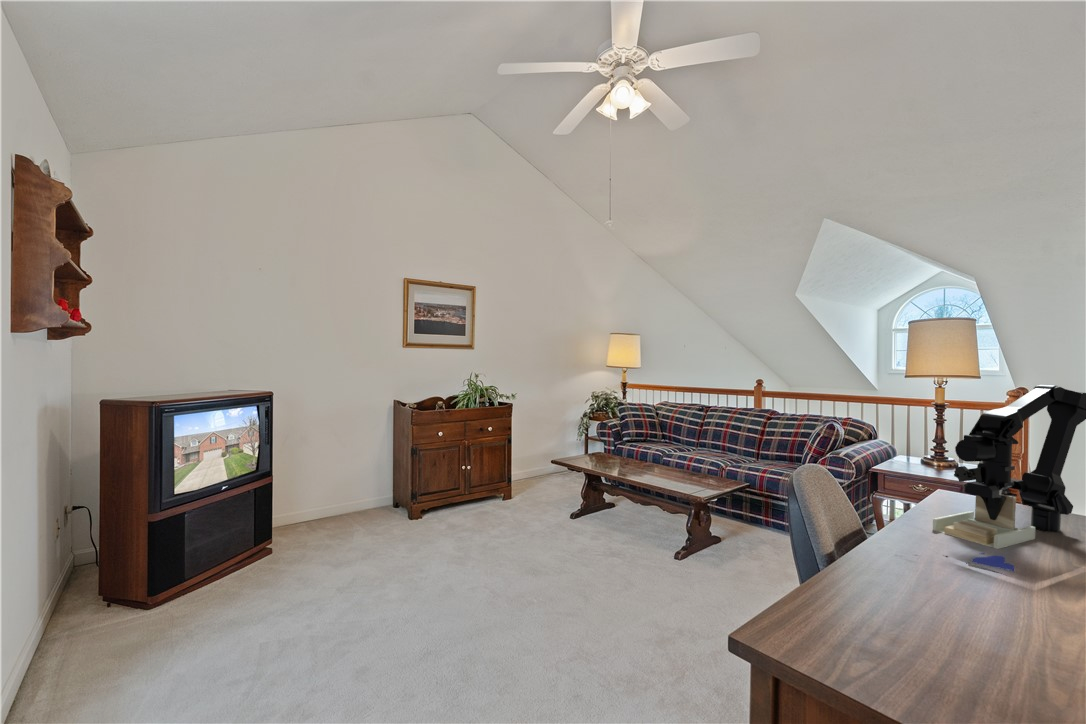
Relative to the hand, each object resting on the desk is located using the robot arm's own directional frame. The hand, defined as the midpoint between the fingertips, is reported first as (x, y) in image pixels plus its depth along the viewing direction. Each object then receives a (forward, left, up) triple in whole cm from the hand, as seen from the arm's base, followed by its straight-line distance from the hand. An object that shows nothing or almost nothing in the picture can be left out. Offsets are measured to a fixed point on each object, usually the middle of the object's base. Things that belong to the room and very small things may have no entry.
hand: (994, 519), depth 134 cm
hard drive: (+23, +10, -5) cm, 26 cm away
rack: (+6, 0, -4) cm, 7 cm away
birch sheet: (0, 0, -3) cm, 3 cm away
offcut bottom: (+11, 0, -3) cm, 11 cm away
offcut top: (+11, +1, -2) cm, 11 cm away
